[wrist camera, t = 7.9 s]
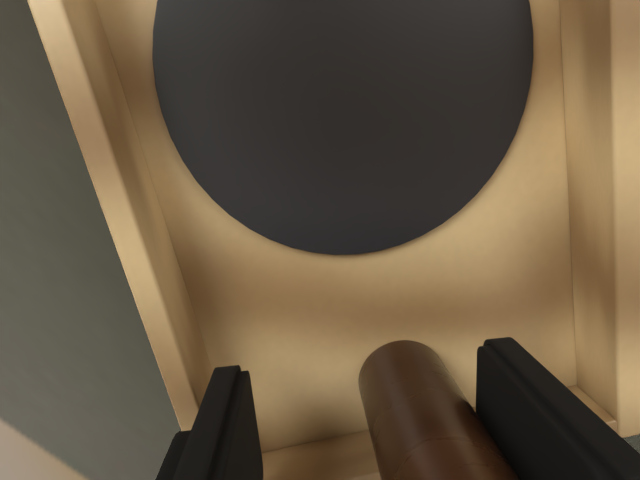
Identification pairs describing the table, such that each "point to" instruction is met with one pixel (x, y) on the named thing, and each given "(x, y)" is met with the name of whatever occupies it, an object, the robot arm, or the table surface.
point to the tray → (367, 208)
